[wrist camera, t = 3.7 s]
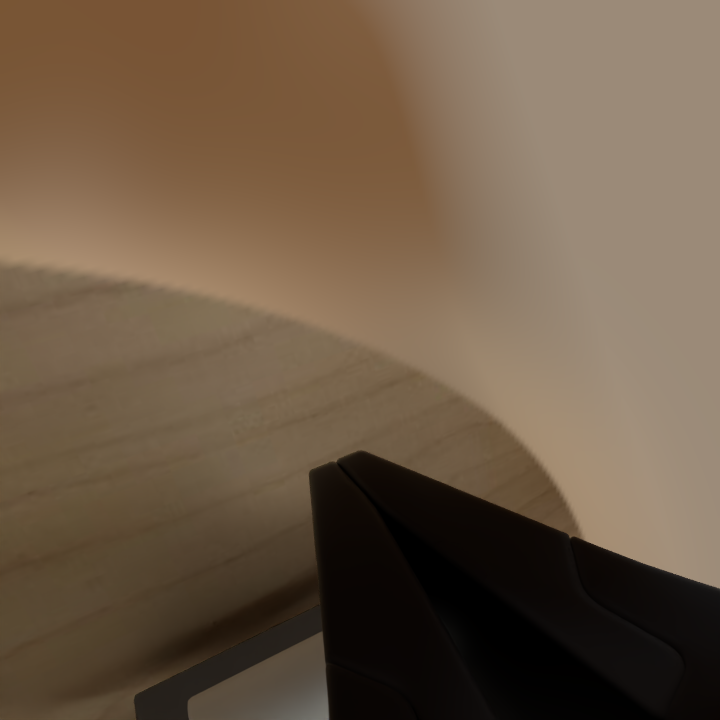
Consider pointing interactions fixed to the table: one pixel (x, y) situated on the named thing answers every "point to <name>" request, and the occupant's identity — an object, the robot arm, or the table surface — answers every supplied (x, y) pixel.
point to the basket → (250, 680)
